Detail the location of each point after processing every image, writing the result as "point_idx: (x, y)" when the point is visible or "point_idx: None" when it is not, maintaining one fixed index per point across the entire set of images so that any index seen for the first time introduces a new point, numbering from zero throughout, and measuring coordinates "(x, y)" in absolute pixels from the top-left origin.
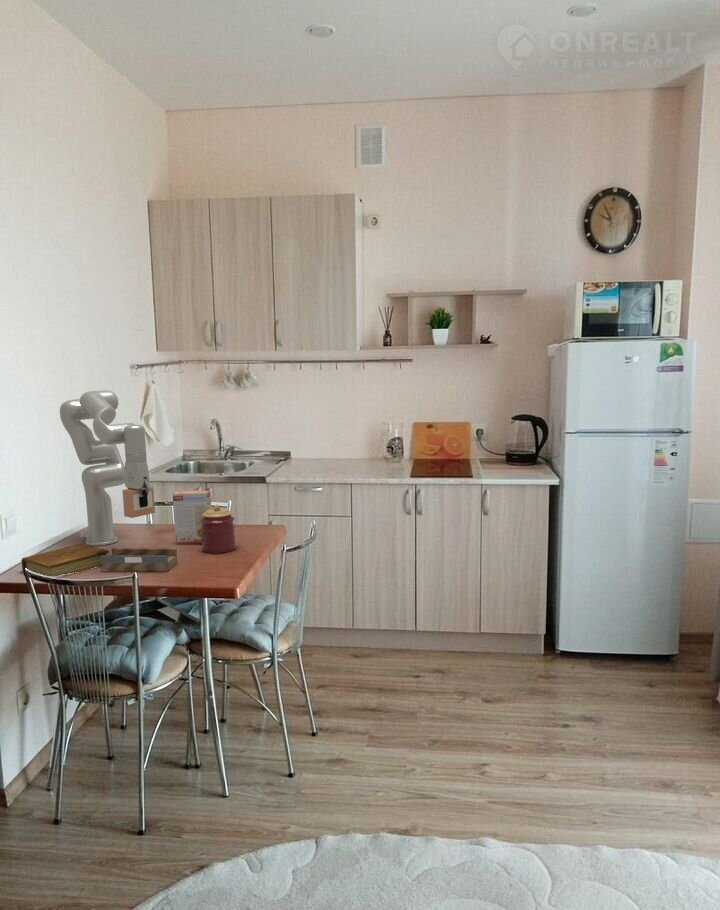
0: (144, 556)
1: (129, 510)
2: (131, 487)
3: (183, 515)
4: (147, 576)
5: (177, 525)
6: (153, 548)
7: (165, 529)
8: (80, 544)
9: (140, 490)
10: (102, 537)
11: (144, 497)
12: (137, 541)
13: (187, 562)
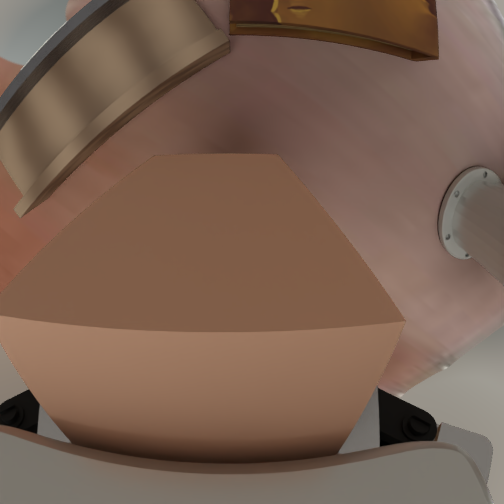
0: (12, 81)
1: (175, 167)
2: (184, 486)
3: None
4: (9, 68)
5: None
6: (68, 158)
7: (391, 369)
8: (430, 44)
9: (44, 434)
10: (469, 202)
11: None
12: (387, 275)
13: (36, 221)
